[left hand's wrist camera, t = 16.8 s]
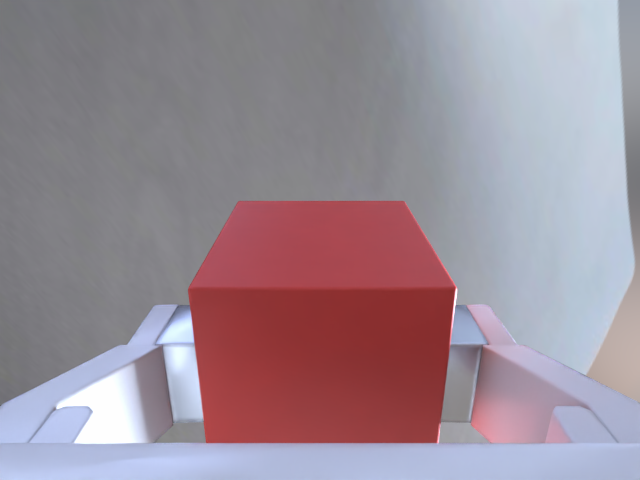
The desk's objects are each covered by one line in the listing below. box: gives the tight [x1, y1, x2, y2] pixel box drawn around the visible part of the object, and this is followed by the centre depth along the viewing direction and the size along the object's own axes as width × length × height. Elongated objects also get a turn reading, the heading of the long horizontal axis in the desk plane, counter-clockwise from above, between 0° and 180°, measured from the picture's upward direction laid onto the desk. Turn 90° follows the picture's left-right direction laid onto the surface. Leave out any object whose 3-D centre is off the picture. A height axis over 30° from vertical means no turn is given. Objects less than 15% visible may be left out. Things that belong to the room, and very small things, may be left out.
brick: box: [188, 201, 457, 443], centre depth 10 cm, size 4×4×5 cm
